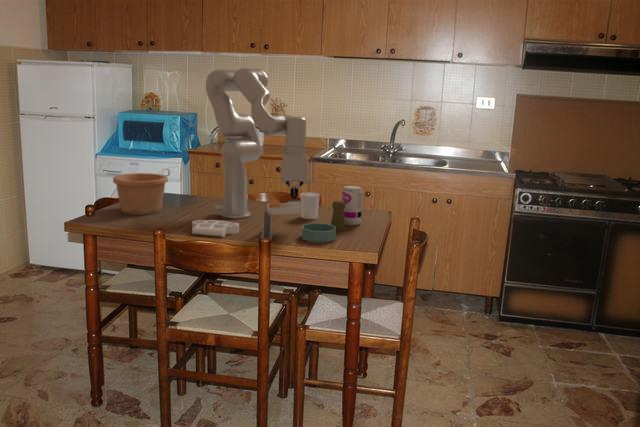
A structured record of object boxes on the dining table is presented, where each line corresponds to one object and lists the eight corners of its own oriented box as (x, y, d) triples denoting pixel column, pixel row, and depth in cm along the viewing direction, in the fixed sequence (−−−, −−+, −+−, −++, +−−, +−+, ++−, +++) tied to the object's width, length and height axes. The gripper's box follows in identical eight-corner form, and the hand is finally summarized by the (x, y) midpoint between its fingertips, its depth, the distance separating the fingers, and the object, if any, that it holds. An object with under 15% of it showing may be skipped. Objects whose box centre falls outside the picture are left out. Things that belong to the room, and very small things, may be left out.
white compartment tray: (183, 235, 214) (198, 226, 228) (231, 239, 211) (243, 229, 225) (183, 226, 213) (198, 217, 227) (231, 230, 211) (243, 221, 225)
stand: (260, 241, 209) (260, 214, 207) (262, 231, 222) (263, 205, 220) (271, 241, 209) (271, 214, 207) (273, 231, 223) (273, 205, 220)
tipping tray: (266, 215, 210) (266, 208, 209) (269, 204, 227) (269, 198, 227) (300, 213, 210) (300, 206, 209) (300, 203, 228) (300, 196, 227)
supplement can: (347, 226, 235) (349, 189, 232) (337, 221, 242) (339, 185, 239) (364, 224, 239) (366, 188, 235) (354, 220, 246) (356, 184, 242)
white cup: (316, 220, 243) (317, 196, 241) (298, 218, 244) (298, 195, 242) (320, 216, 250) (321, 193, 248) (302, 214, 252) (303, 191, 250)
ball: (269, 211, 212) (268, 200, 211) (269, 208, 215) (268, 198, 214) (280, 210, 212) (279, 199, 211) (280, 207, 215) (279, 197, 215)
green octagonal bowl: (302, 241, 210) (302, 231, 209) (302, 233, 222) (302, 222, 221) (336, 242, 211) (336, 231, 210) (334, 233, 223) (334, 223, 222)
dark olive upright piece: (329, 226, 234) (330, 199, 232) (344, 226, 235) (345, 199, 232) (330, 230, 228) (332, 202, 226) (346, 230, 229) (347, 202, 226)
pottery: (174, 206, 259) (173, 174, 256) (159, 217, 238) (158, 182, 234) (125, 204, 260) (124, 172, 256) (106, 215, 238) (104, 180, 235)
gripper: (274, 150, 215) (274, 199, 219) (315, 152, 216) (314, 200, 220) (275, 148, 223) (274, 196, 227) (315, 149, 223) (313, 197, 227)
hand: (294, 198), depth 223 cm, fingers closed
